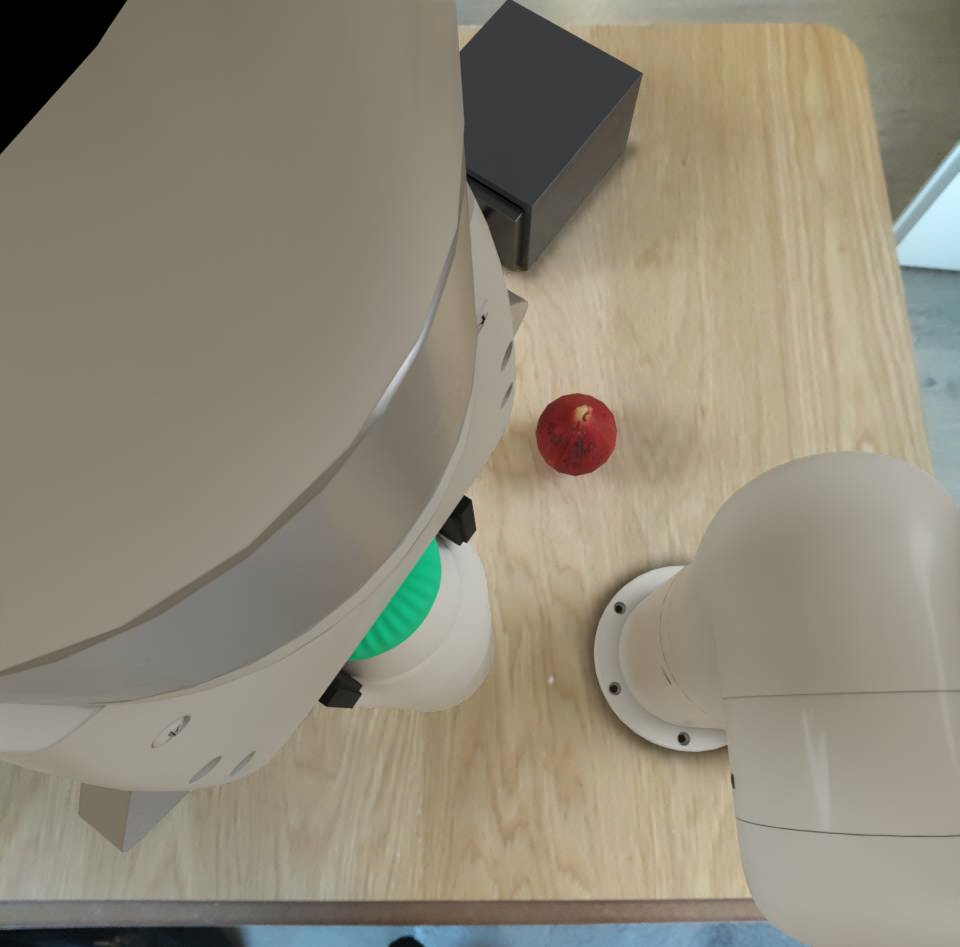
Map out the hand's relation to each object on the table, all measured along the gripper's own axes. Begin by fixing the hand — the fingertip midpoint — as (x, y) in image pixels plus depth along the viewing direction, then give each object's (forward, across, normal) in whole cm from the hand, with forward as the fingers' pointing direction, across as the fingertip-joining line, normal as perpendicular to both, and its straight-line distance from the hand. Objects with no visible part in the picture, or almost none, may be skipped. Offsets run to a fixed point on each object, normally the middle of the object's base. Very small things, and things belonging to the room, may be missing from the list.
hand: (375, 588), depth 25 cm
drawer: (+32, -33, -19) cm, 50 cm away
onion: (+34, -18, -1) cm, 38 cm away
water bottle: (+20, 0, 0) cm, 20 cm away
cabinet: (+33, -37, -18) cm, 53 cm away
